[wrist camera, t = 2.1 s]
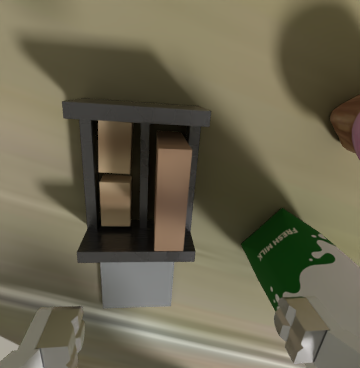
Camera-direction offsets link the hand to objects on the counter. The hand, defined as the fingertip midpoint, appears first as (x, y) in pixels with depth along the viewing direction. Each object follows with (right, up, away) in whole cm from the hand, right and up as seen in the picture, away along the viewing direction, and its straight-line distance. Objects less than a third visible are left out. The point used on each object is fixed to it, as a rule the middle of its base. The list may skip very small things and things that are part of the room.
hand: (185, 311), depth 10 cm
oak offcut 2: (-7, +4, +17) cm, 19 cm away
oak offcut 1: (-7, +10, +15) cm, 19 cm away
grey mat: (-6, -6, +21) cm, 23 cm away
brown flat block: (-2, +7, +17) cm, 18 cm away
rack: (-4, +7, +16) cm, 18 cm away
